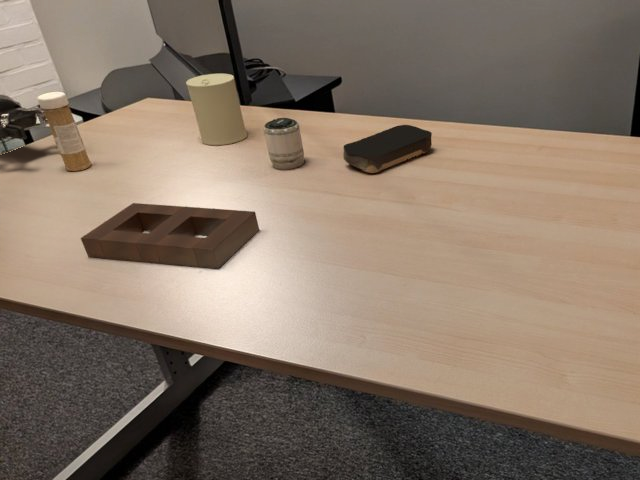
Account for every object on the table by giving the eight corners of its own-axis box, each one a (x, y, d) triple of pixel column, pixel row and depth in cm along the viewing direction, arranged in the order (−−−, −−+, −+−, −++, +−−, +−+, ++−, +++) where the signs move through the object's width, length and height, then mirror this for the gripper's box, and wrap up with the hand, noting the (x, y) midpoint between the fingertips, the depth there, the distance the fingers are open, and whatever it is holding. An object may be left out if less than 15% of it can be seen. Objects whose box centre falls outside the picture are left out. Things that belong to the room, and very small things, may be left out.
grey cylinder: (264, 168, 119) (255, 125, 114) (282, 156, 123) (273, 114, 119) (295, 171, 117) (286, 127, 112) (311, 159, 122) (304, 116, 117)
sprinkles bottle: (67, 165, 125) (38, 93, 117) (93, 161, 126) (66, 89, 118) (64, 173, 121) (34, 99, 113) (91, 169, 122) (63, 96, 114)
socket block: (88, 257, 93) (80, 238, 92) (139, 220, 103) (132, 202, 101) (218, 269, 89) (213, 249, 87) (259, 229, 98) (255, 211, 96)
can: (194, 146, 130) (177, 84, 123) (210, 131, 138) (194, 71, 131) (240, 144, 130) (225, 82, 123) (252, 129, 137) (239, 70, 130)
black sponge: (406, 141, 127) (404, 122, 125) (436, 151, 122) (435, 131, 120) (340, 166, 118) (337, 146, 116) (370, 177, 113) (367, 157, 111)
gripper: (-53, 107, 121) (-1, 117, 114) (19, 87, 131) (71, 95, 124) (-33, 147, 125) (17, 158, 119) (35, 125, 135) (85, 134, 129)
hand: (45, 126), depth 121 cm, fingers open, 8 cm apart
